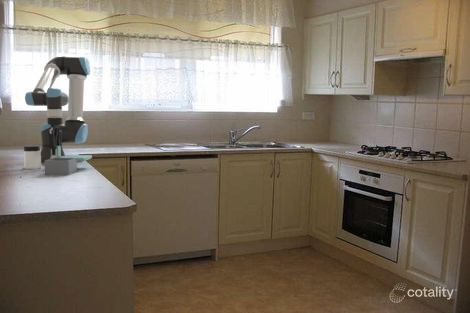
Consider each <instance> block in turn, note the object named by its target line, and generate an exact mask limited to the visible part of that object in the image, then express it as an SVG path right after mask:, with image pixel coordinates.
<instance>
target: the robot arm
mask: <svg viewBox="0 0 470 313" xmlns="http://www.w3.org/2000/svg"><path fill="white" fill-rule="evenodd" d="M90 74H91V66H90V62H89V59H88V57H87V56H85V55H65V54H64V55H63V54H62V55H58V56H55V57H53V58H51V59H50V60H49V61H47V63H46V64H45V66H44V68H43V73H42V75H41V77H40V78H39V80H38V81H37V83H36V85H35V88H34V89H33V91H27V92H25V95H24V100H25V104H26V105H27V106H33V107H35V106H36V107H39V106H40V107H43V106H45V107H46V112H45V113H47V114H46V116H47V122H46V123H42V124H41V125H40V128H41V129H40V137H41V148H40V151H41V162H44V161H45V160H48V159H50V157H51V151H52V158H57V149H56V146H61V156H66V153H65V152H64V149H63V144H83V143H85V142H86V140H87V137H88V134H89V125H88V124H86V120H84V118H83V115H84V114H83V112H84V111H83V110H84V92H85V90H84V89H85V88H84V87H85V86H84V85H85V80H87V76H89V75H90ZM62 75H66V78H67V79H68V94H67V93H65V92H64V91H62V89H61V88H55V87H54V88H53V85H54V84H55V81H56V79H57V78H59V77H60V76H62ZM66 105H68V106H67V118H66V119H65V120H64V123H63V107H65V106H66Z"/></svg>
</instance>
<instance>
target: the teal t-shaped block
mask: <svg viewBox="0 0 470 313" xmlns="http://www.w3.org/2000/svg"><path fill="white" fill-rule="evenodd" d="M56 149H57V158H77V163H83V162H85V161H88V160H90V159H92V158H93V155H89V154H88V155H85V154H84V155H81V154H79V155H78V154H69V155H65V156H61V146H56ZM51 158H52V151H51V157H50V159H51Z"/></svg>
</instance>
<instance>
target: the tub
mask: <svg viewBox="0 0 470 313" xmlns="http://www.w3.org/2000/svg"><path fill="white" fill-rule="evenodd" d="M43 162H44V175H47V176H49V175H51V176H61V175H62V176H70V175H72V174H75V173H77V171H78V162H77V158H51V159H48V160H45V161H43Z"/></svg>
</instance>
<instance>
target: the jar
mask: <svg viewBox="0 0 470 313" xmlns="http://www.w3.org/2000/svg"><path fill="white" fill-rule="evenodd" d="M22 152H23V169H26V170H36V169H41V168H42V161H41V145H39V144H38V145H34V144H33V145H30V144H28V145H23V151H22Z"/></svg>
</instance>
